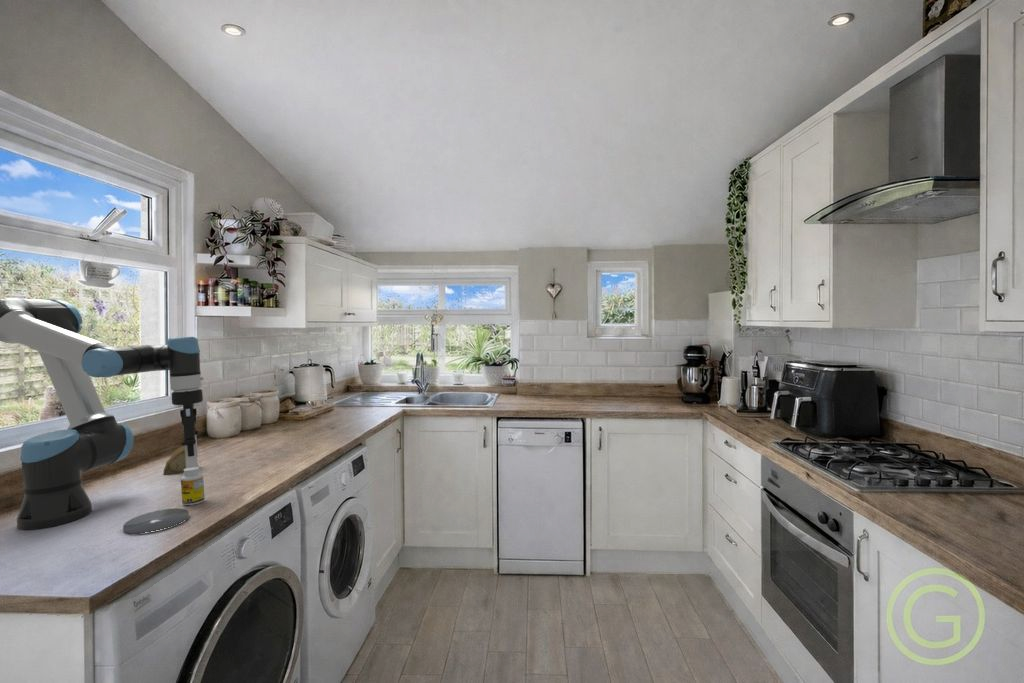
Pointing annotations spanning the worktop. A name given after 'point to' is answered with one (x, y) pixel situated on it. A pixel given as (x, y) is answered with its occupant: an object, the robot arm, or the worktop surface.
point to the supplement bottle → (192, 486)
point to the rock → (176, 462)
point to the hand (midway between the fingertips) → (192, 462)
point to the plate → (155, 520)
